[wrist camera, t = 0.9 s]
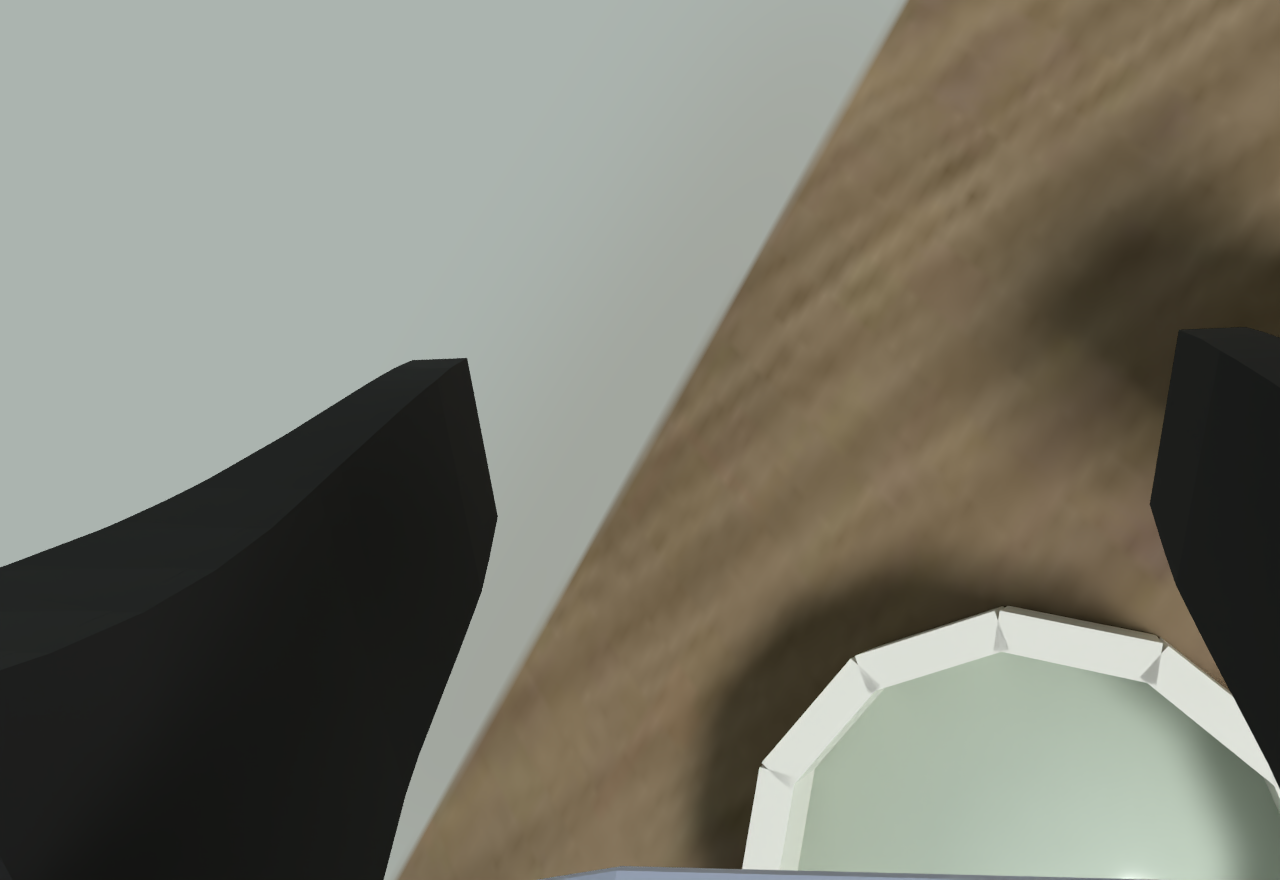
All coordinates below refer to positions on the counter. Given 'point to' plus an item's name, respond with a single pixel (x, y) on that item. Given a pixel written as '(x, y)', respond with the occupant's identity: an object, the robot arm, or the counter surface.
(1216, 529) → the robot arm
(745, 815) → the counter surface
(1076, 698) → the dish
